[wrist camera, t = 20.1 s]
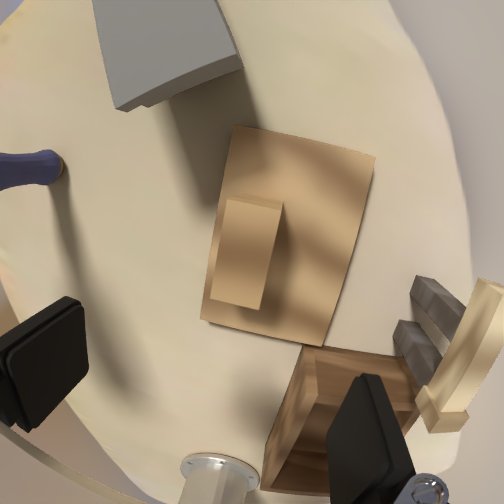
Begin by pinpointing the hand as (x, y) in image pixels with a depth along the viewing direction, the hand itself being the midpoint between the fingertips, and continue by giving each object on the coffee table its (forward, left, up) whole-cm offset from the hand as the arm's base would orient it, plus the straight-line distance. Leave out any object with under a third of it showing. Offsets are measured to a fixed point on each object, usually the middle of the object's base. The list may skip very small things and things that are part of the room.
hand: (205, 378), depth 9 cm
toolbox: (-14, -12, -19) cm, 27 cm away
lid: (+1, -2, -19) cm, 19 cm away
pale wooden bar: (-2, -17, -10) cm, 20 cm away
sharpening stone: (+22, +13, -20) cm, 32 cm away
